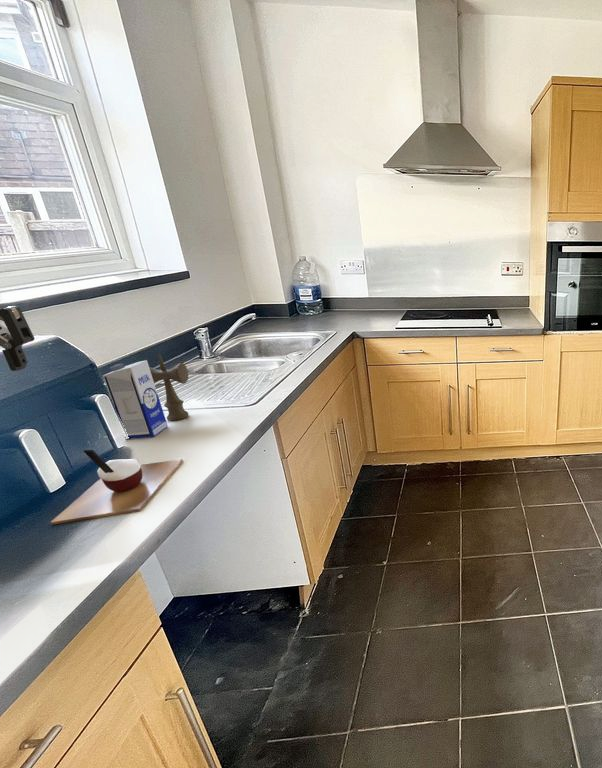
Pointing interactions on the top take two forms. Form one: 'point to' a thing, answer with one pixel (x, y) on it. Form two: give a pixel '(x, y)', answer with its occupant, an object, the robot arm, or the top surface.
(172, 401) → the kendama
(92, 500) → the copper plate
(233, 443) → the top surface
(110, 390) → the milk carton
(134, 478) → the cocoa
